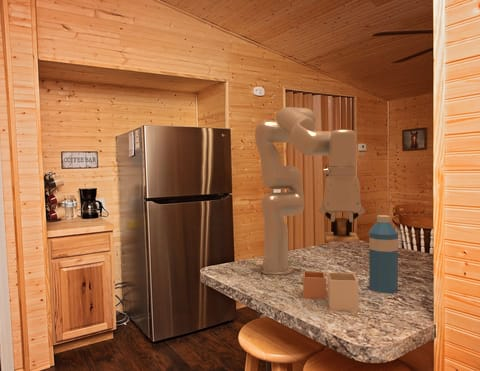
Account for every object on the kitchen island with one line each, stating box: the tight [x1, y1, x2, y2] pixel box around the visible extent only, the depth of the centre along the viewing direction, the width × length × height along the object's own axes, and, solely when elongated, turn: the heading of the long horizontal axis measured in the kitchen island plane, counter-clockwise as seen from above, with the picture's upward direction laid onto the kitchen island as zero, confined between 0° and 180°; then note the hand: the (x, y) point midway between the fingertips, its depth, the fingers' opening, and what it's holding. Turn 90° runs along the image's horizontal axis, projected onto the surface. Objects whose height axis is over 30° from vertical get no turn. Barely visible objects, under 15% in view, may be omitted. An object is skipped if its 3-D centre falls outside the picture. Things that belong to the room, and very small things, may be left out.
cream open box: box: [327, 272, 360, 312], centre depth 109 cm, size 8×8×9 cm
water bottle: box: [368, 214, 399, 294], centre depth 123 cm, size 9×9×25 cm
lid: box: [324, 217, 360, 243], centre depth 108 cm, size 9×9×6 cm
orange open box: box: [302, 271, 327, 300], centre depth 118 cm, size 7×7×7 cm
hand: (341, 234), depth 109 cm, fingers closed on lid, 3 cm apart
